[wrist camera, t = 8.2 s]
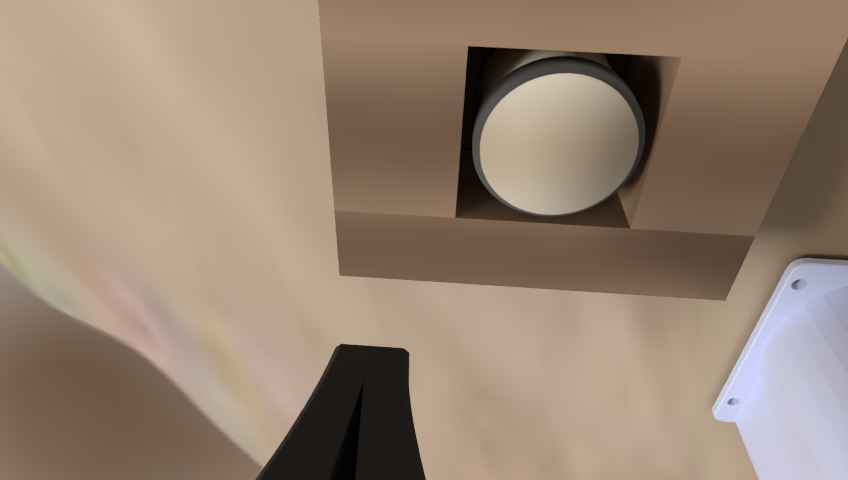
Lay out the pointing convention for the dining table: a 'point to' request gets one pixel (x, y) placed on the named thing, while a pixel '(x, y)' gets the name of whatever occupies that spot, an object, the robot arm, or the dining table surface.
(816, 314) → the robot arm
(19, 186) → the dining table surface
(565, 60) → the birch peg inner
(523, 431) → the dining table surface
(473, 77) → the dining table surface
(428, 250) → the walnut block
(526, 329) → the dining table surface
